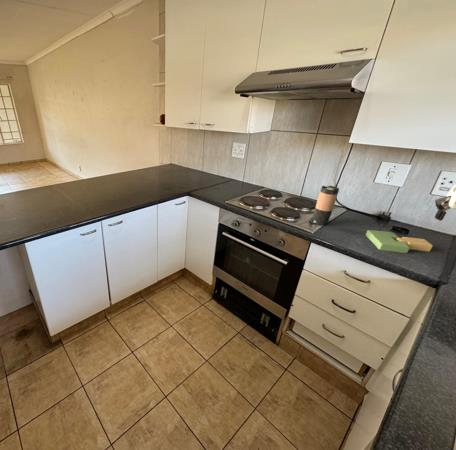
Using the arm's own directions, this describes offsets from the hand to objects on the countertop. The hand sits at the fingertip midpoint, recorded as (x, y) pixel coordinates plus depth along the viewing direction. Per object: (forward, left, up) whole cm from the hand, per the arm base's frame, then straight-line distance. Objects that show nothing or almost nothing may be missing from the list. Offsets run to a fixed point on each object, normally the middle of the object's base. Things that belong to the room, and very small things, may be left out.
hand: (452, 220), depth 102 cm
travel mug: (+42, -16, -14) cm, 47 cm away
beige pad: (+9, 0, -14) cm, 17 cm away
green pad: (+19, 0, -14) cm, 23 cm away
